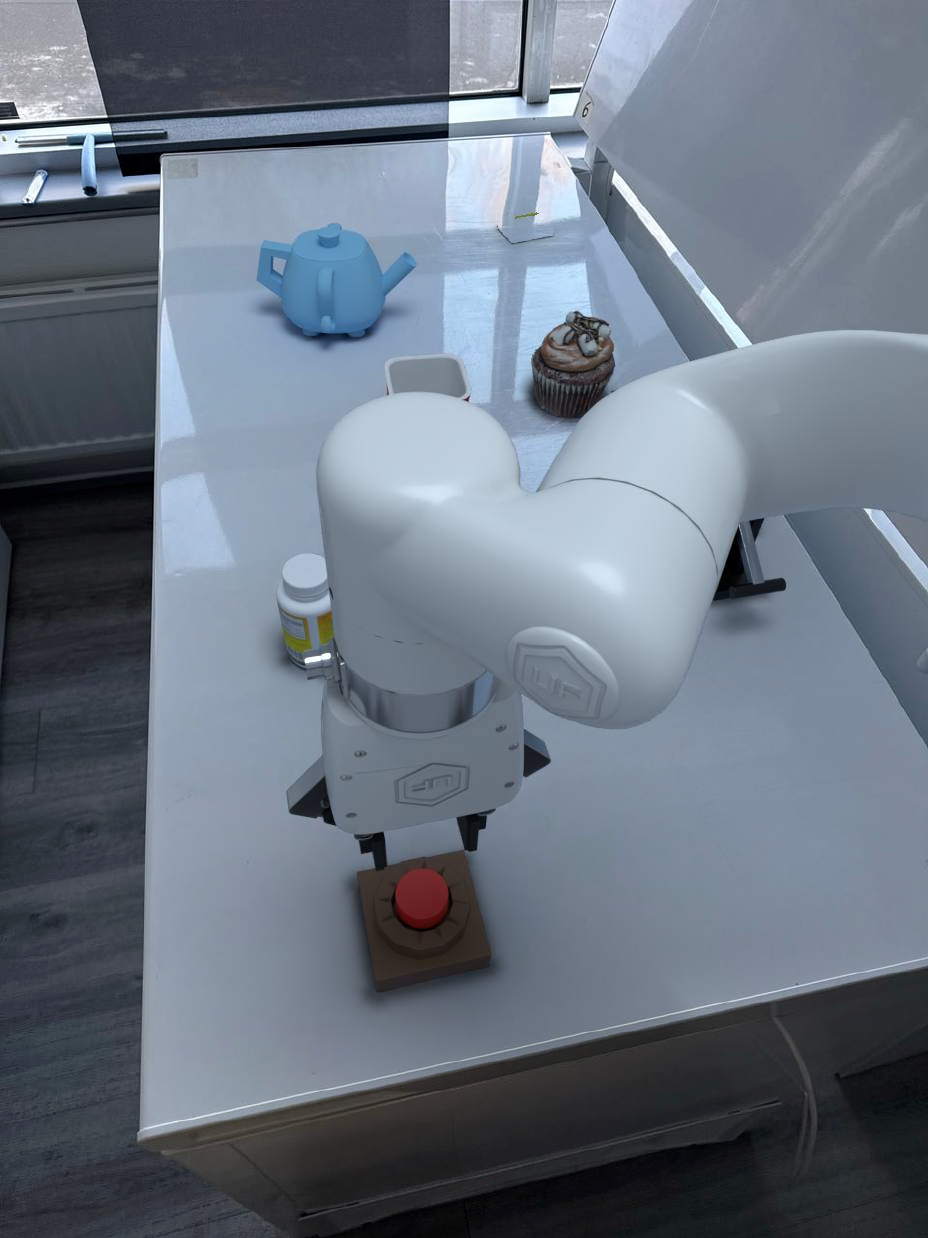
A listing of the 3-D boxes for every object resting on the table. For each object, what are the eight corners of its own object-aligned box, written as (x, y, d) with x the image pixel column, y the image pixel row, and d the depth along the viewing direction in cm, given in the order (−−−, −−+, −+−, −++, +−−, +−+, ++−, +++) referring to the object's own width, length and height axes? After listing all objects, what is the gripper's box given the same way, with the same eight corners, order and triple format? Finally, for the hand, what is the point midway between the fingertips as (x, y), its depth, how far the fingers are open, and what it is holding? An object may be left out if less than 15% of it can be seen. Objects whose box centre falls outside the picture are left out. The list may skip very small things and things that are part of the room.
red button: (453, 922, 61) (453, 912, 60) (401, 934, 60) (400, 924, 59) (441, 874, 63) (442, 863, 62) (391, 884, 63) (390, 874, 61)
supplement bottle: (349, 623, 83) (341, 544, 75) (348, 671, 79) (339, 594, 72) (288, 625, 82) (274, 546, 75) (284, 673, 79) (269, 595, 71)
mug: (385, 440, 101) (382, 357, 93) (458, 434, 102) (460, 352, 94) (398, 512, 93) (395, 429, 85) (476, 505, 94) (480, 422, 86)
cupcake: (541, 367, 111) (549, 292, 103) (616, 386, 109) (631, 310, 101) (516, 410, 105) (523, 334, 97) (595, 430, 103) (609, 354, 95)
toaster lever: (778, 593, 81) (791, 587, 79) (727, 601, 81) (739, 596, 78) (749, 479, 83) (761, 470, 81) (699, 486, 82) (710, 477, 80)
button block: (489, 966, 63) (492, 945, 60) (376, 992, 61) (374, 972, 58) (463, 862, 68) (464, 838, 65) (358, 884, 66) (355, 860, 63)
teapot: (254, 353, 111) (239, 262, 102) (271, 284, 122) (259, 196, 113) (415, 357, 111) (414, 267, 103) (419, 288, 122) (418, 201, 113)
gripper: (236, 756, 37) (288, 928, 51) (623, 686, 40) (573, 867, 54) (224, 621, 42) (274, 812, 55) (571, 568, 45) (537, 761, 58)
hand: (421, 837), depth 54 cm, fingers open, 4 cm apart
